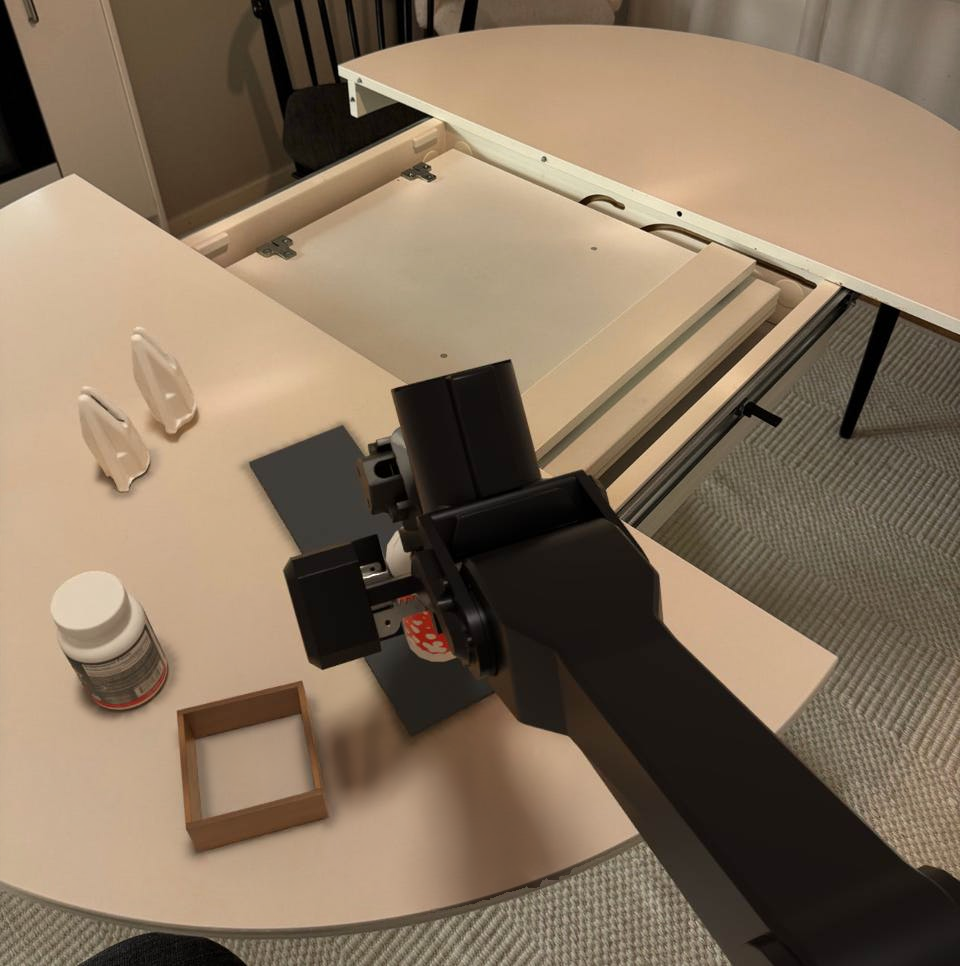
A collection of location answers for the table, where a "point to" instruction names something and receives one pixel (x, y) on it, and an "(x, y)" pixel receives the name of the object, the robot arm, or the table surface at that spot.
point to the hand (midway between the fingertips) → (429, 555)
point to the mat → (345, 517)
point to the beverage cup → (419, 624)
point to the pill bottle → (108, 640)
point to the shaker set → (113, 428)
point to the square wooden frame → (231, 717)
